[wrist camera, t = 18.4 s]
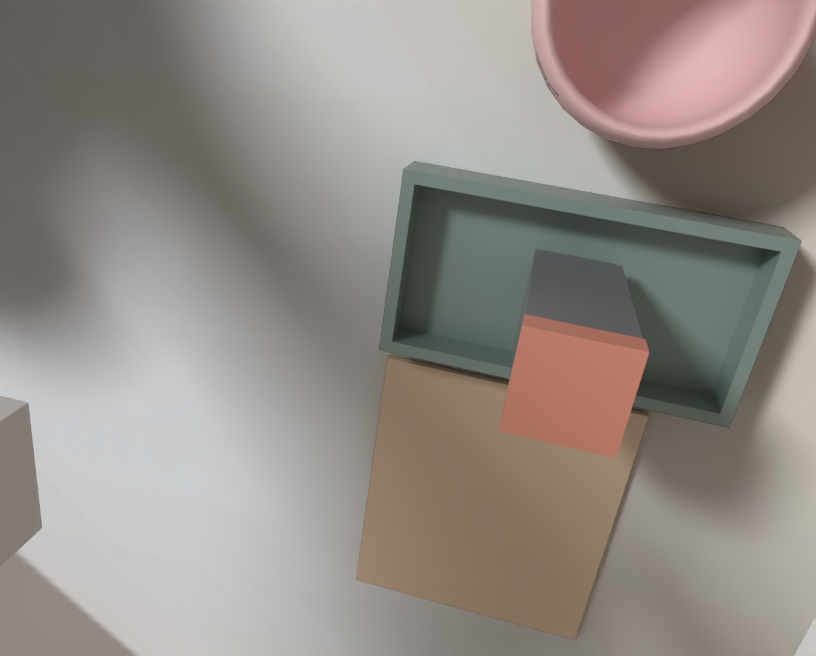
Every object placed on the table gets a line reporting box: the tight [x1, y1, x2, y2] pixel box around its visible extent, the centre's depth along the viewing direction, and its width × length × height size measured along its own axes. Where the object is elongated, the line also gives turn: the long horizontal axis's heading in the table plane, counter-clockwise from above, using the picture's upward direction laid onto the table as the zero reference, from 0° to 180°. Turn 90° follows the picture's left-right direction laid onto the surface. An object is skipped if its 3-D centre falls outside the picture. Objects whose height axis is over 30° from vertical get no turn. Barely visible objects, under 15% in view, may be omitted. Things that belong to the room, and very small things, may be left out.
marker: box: [499, 249, 649, 458], centre depth 27 cm, size 4×4×11 cm
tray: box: [379, 161, 802, 428], centre depth 32 cm, size 17×9×2 cm, turn 82°
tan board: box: [356, 355, 649, 640], centre depth 39 cm, size 14×16×1 cm
